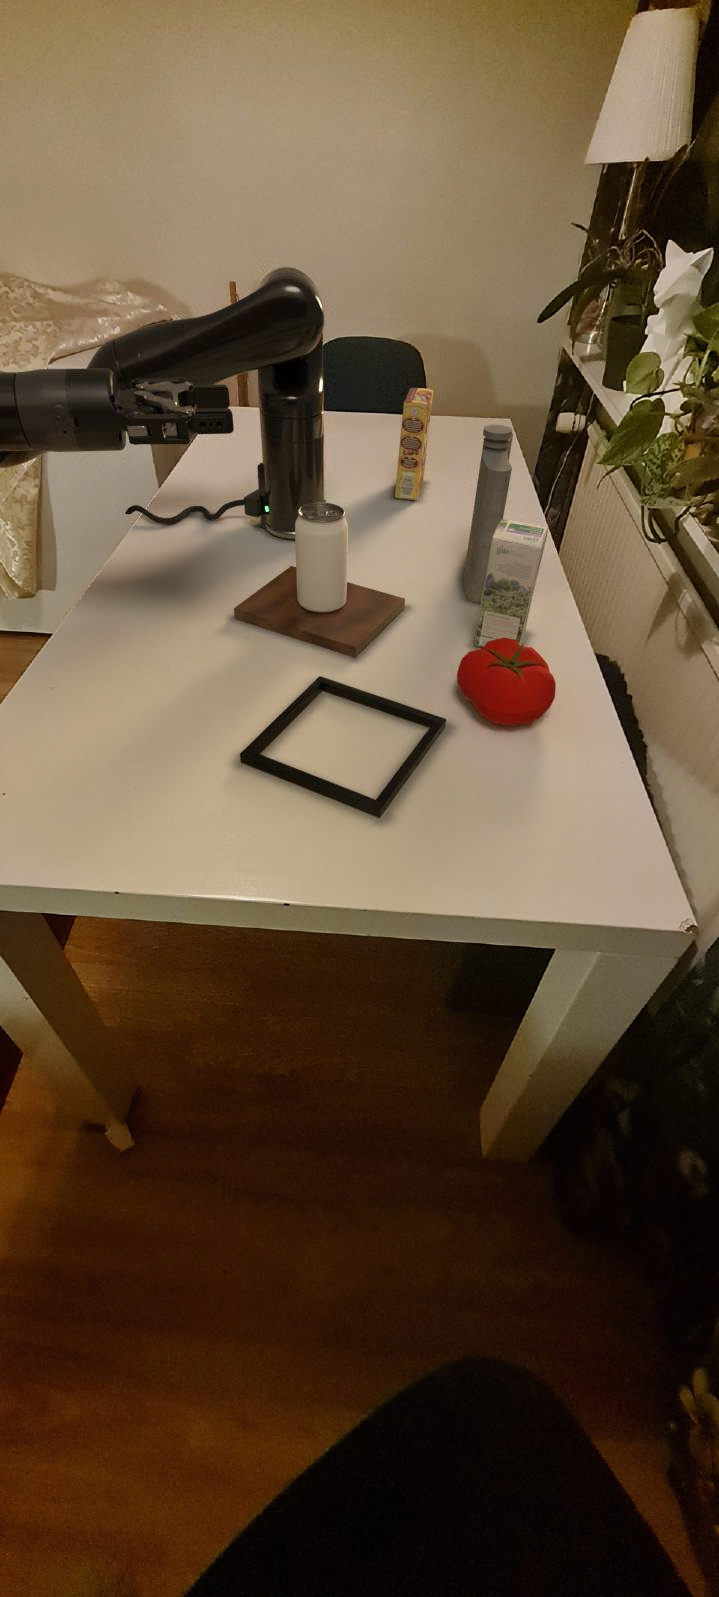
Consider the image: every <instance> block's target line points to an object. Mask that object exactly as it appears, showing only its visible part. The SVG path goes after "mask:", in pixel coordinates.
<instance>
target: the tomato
mask: <svg viewBox="0 0 719 1597" xmlns="http://www.w3.org/2000/svg"><path fill="white" fill-rule="evenodd" d="M456 682H457V685H458V688H459V689H460V691H461V693H462V695H463V697H464V698H466V699H467V700H468V701H470V702H472V704H473V705H474V707H475V709H476V711H477V713H479V714H480V715H481V716H482V717H483V718H485V719H486V720H488V721H490V722H491V723H494V724H497V725H501V726H510V727H512V726H513V727H514V726H522V725H528V724H530V723H532V722H535V721H537V720H539V719H540V718H541V717H542V716H544V715H545V713H547V711H548V710H549V709H550V708H551V707H552V705H553V703H554V700H555V697H556V688H557V687H556V686H557V685H556V684H557V683H556V680H555V678H554V675H553V674H552V673H551V671H550V667H549V664H548V663H547V662H546V660H545V659H544V657H543V656H542V655H541V654H540V653H539V652H538V651H537V650H536V649H535V648H533V647H531V646H524V644H521V646H520V645H519V644H518V642H517V641H516V640H515V639H509V638H500V639H496V640H492V641H488V642H487V643H486V644H485V645H484V646H483V647H481V649H474V650H470V651H468V652H467V653H466V654H465V655H463V657H462V658H461V659H460V662H459V665H458V668H457V673H456Z"/></svg>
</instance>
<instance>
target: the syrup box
mask: <svg viewBox="0 0 719 1597" xmlns="http://www.w3.org/2000/svg"><path fill="white" fill-rule="evenodd" d="M548 533H549V527H548V526H545V525H539V524H533V523H527V522H522V521H516V520H509V519H505V518H503V519H501V521H500V523H499V525H498V526H497V529H496V531H495V533H494V535H493V539H492V543H491V549H490V555H489V561H488V567H487V573H486V579H485V584H484V590H483V596H482V602H481V603H480V610H479V616H478V621H477V626H476V632H475V638H474V646H475V647H480V648H483V646H484V645H485V644H486V643H487V642H488V641H492V640H496V639H500V638H509V639H515V640H516V641H517V642H518V644H519V645H520V646H522V643H523V640H524V636H525V634H526V630H527V625H528V619H529V614H530V610H531V605H532V601H533V597H534V591H535V588H536V584H537V580H538V575H539V572H540V567H541V564H542V559H543V555H544V552H545V551H544V549H545V547H546V542H547V538H548Z"/></svg>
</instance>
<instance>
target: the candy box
mask: <svg viewBox="0 0 719 1597" xmlns="http://www.w3.org/2000/svg"><path fill="white" fill-rule="evenodd" d="M433 398H434V390H433V389H429V388H422V387H410V388H409V391H408V393H407V395H406V397H405V400H404V401H403V404H402V406H403V407H402V418H401V428H400V438H399V447H398V448H399V449H398V459H397V471H396V481H395V491H394V498H396V499H400V500H401V499H402V500H409V501H417V500H418V497H419V494H420V491H421V489H422V485H423V483H424V477H425V468H426V461H427V460H426V458H427V452H428V451H427V450H428V444H429V443H428V442H429V434H430V433H429V432H430V425H431V415H432V407H433V406H432V405H433Z"/></svg>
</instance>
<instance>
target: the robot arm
mask: <svg viewBox="0 0 719 1597" xmlns="http://www.w3.org/2000/svg"><path fill="white" fill-rule="evenodd" d="M324 328H325V311H324V305H323V300H322V295H321V294H320V290H319V288H318V287H317V285H316V283H315V282H314V281H313V279H312V278H311V277H310V276H309V275H308V274H307V273H305V272H304V271H302V270H301V269H299V268H295V267H292V266H282V267H281V266H280V267H277V268H275V269H273V270H271V271H270V272H268V273H267V274H266V275H264V277H263V278H262V279H261V281H260V282H259V284H258V286H257V288H256V290H255V291H253V292H251V293H250V294H248V295H246V296H244V297H243V298H241V299H239V300H237V301H235V302H233V303H231V304H229V305H227V306H224V307H223V308H221V309H218V310H216V311H213V312H210V313H207V314H205V315H201V316H196V317H188V318H180V319H173V320H168V321H162V322H158V323H153V324H149V325H145V326H143V327H139V328H137V329H134V330H132V331H130V332H127V333H124V334H122V335H119V336H116V337H115V338H112V339H109V340H108V341H105V342H104V343H103V344H102V345H101V346H100V347H99V348H98V349H97V351H96V352H95V353H94V354H93V356H92V357H91V359H90V361H89V363H88V365H87V366H86V368H83V367H82V368H38V369H31V370H25V371H0V469H8V468H14V467H16V466H19V465H23V464H25V463H28V462H30V461H32V460H35V459H37V458H40V457H41V456H43V455H46V454H48V453H50V452H52V453H78V452H79V453H80V452H83V453H84V452H115V451H117V452H119V451H123V450H124V449H125V448H126V445H127V436H128V442H129V445H134V446H138V445H183V446H186V445H188V444H190V443H191V439H194V438H196V437H197V435H228V434H232V433H233V432H234V429H235V426H234V414H233V411H232V409H230V408H229V407H230V406H231V400H230V391H229V387H228V386H227V385H226V384H219V383H222V382H223V381H225V380H227V379H229V378H233V377H235V376H238V375H243V374H245V373H249V372H252V371H257V398H258V409H259V410H258V411H259V424H260V427H259V428H260V440H261V456H262V461H261V462H259V464H257V467H256V468H257V469H256V470H257V483H258V488H257V489H256V490H254V491H252V492H250V493H248V494H247V495H246V496H243V498H242V499H236V500H232V501H229V502H227V503H224V504H223V505H221V507H219V508H218V510H217V511H216V512H214V513H211V512H210V511H209V509H208V508H206V507H205V506H203V505H191V506H188V507H187V508H185V509H183V510H182V511H180V512H179V513H178V514H177V515H174V516H171V517H170V516H169V517H161V516H158V515H156V514H154V513H152V512H150V511H149V510H148V509H146V508H145V507H143V506H141V505H139V504H134V505H131V506H129V507H127V509H126V511H125V512H124V515H132V514H133V513H134V512H138V513H141V514H142V515H144V516H145V517H146V518H148V519H149V520H150V521H153V522H155V523H157V524H161V525H162V524H163V525H164V524H165V525H170V524H176V523H178V522H180V521H181V520H182V519H184V518H185V517H187V516H188V515H189V514H192V513H197V512H199V513H200V512H201V513H202V514H203V515H204V517H205V518H207V519H208V520H210V521H215V520H218V519H220V518H221V517H222V516H223V515H224V513H226V512H227V511H228V510H230V509H232V508H236V507H241V506H242V507H244V508H243V509H244V515H245V516H249V517H253V518H257V519H258V518H260V527H261V528H262V529H266V531H267V532H268V533H269V534H271V535H272V536H274V537H277V538H282V539H287V540H295V523H296V520H297V518H298V516H299V514H298V510H299V508H301V507H302V506H304V505H306V504H310V503H317V502H324V503H327V500H326V499H325V382H324V330H325V329H324Z"/></svg>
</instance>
